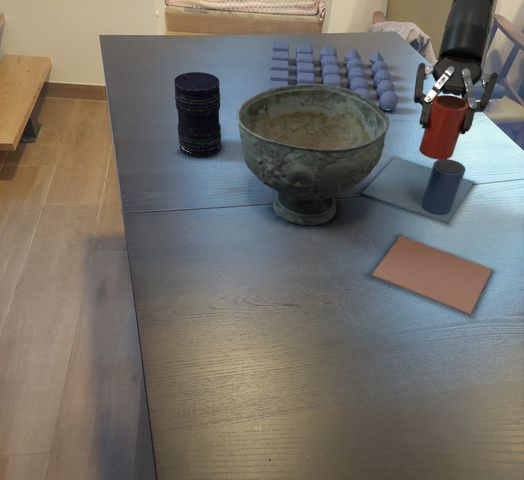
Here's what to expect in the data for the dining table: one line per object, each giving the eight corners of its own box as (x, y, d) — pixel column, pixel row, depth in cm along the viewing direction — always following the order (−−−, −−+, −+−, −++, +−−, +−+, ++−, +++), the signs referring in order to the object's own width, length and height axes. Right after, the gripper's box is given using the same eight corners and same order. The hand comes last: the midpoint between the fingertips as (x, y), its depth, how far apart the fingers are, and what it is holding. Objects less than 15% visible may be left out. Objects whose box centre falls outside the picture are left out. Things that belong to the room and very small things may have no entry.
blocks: (271, 58, 159) (272, 41, 156) (381, 65, 160) (385, 48, 156) (268, 107, 136) (269, 87, 132) (396, 115, 136) (401, 95, 133)
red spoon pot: (456, 149, 97) (473, 100, 90) (446, 163, 93) (463, 112, 86) (425, 140, 99) (439, 91, 92) (414, 153, 95) (428, 103, 88)
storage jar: (228, 144, 122) (228, 77, 110) (208, 162, 116) (206, 94, 104) (192, 134, 124) (188, 68, 113) (171, 151, 118) (164, 83, 107)
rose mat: (491, 270, 94) (492, 269, 94) (469, 315, 86) (470, 313, 86) (400, 237, 100) (400, 235, 99) (371, 275, 92) (372, 274, 91)
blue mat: (473, 183, 115) (474, 181, 114) (447, 223, 103) (448, 222, 103) (395, 158, 121) (395, 156, 120) (362, 194, 110) (362, 192, 109)
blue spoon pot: (454, 204, 108) (469, 164, 101) (445, 218, 104) (460, 177, 97) (426, 195, 110) (439, 155, 103) (416, 208, 106) (429, 168, 99)
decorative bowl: (392, 200, 107) (412, 103, 92) (333, 264, 93) (346, 162, 78) (286, 165, 117) (289, 72, 102) (218, 218, 103) (210, 119, 88)
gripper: (501, 51, 93) (479, 143, 94) (421, 41, 95) (400, 131, 96) (514, 27, 85) (490, 127, 86) (428, 16, 87) (405, 115, 88)
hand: (443, 129), depth 91 cm, fingers closed on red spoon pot, 6 cm apart
